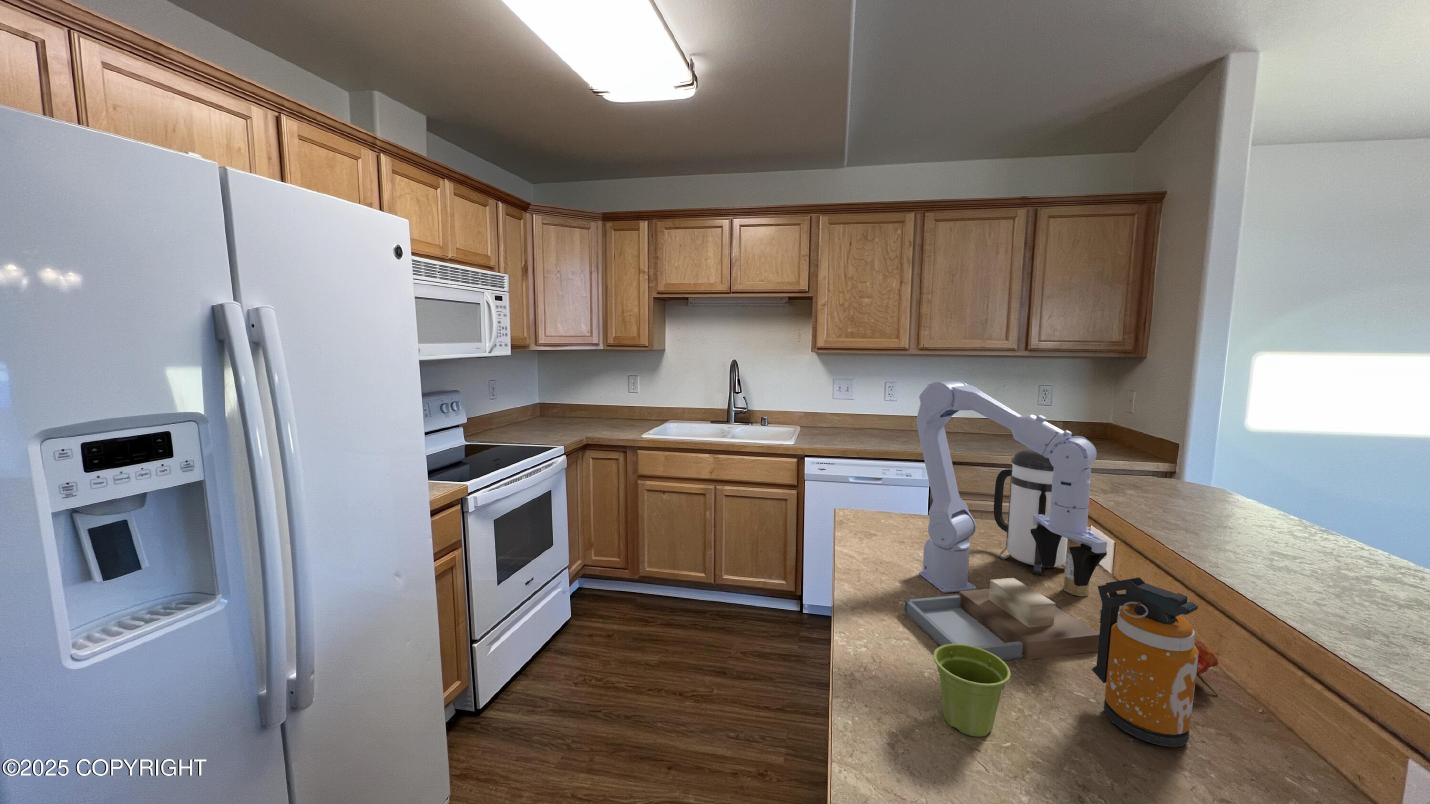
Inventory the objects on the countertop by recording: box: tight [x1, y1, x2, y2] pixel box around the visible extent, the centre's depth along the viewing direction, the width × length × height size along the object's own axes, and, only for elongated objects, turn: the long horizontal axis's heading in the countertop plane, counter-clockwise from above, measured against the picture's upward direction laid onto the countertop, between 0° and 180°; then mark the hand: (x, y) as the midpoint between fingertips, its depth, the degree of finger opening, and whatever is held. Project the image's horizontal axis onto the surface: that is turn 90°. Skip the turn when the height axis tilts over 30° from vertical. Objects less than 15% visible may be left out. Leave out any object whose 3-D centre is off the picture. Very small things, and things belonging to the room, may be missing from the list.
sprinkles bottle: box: [1062, 530, 1095, 597], centre depth 109 cm, size 5×5×14 cm
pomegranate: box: [1194, 637, 1220, 697], centre depth 80 cm, size 7×7×10 cm
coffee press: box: [993, 447, 1068, 577], centre depth 123 cm, size 17×16×30 cm
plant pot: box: [933, 644, 1011, 738], centre depth 72 cm, size 9×9×9 cm
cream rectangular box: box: [989, 577, 1056, 627], centre depth 95 cm, size 10×5×4 cm, turn 10°
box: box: [904, 594, 1023, 661], centre depth 94 cm, size 17×11×2 cm
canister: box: [1091, 576, 1199, 747], centre depth 71 cm, size 9×11×20 cm
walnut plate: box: [958, 588, 1100, 660], centre depth 96 cm, size 18×14×3 cm
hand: (1063, 575), depth 96 cm, fingers open, 7 cm apart
